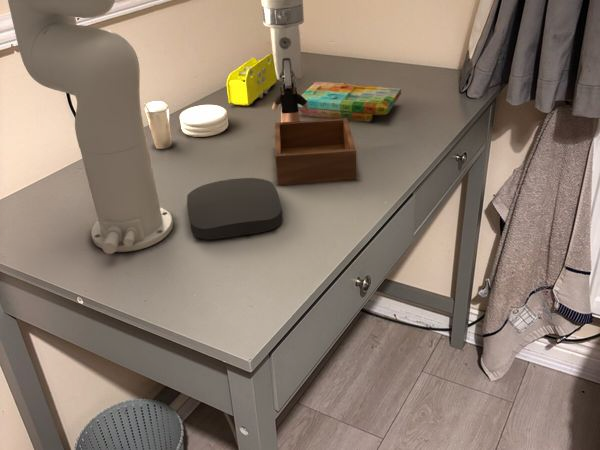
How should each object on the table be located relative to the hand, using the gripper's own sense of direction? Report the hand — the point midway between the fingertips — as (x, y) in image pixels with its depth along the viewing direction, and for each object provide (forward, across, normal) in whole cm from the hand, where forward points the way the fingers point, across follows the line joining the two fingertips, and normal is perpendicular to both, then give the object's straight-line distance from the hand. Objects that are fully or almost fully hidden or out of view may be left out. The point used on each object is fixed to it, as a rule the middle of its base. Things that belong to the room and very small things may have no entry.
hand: (289, 108), depth 126 cm
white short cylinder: (+6, +7, +18) cm, 20 cm away
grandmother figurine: (+6, 0, 0) cm, 6 cm away
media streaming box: (+6, -30, +10) cm, 32 cm away
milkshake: (+6, -1, +26) cm, 27 cm away
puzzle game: (+6, +11, -13) cm, 18 cm away
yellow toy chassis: (+6, +25, +8) cm, 27 cm away
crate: (+6, -14, -4) cm, 15 cm away
